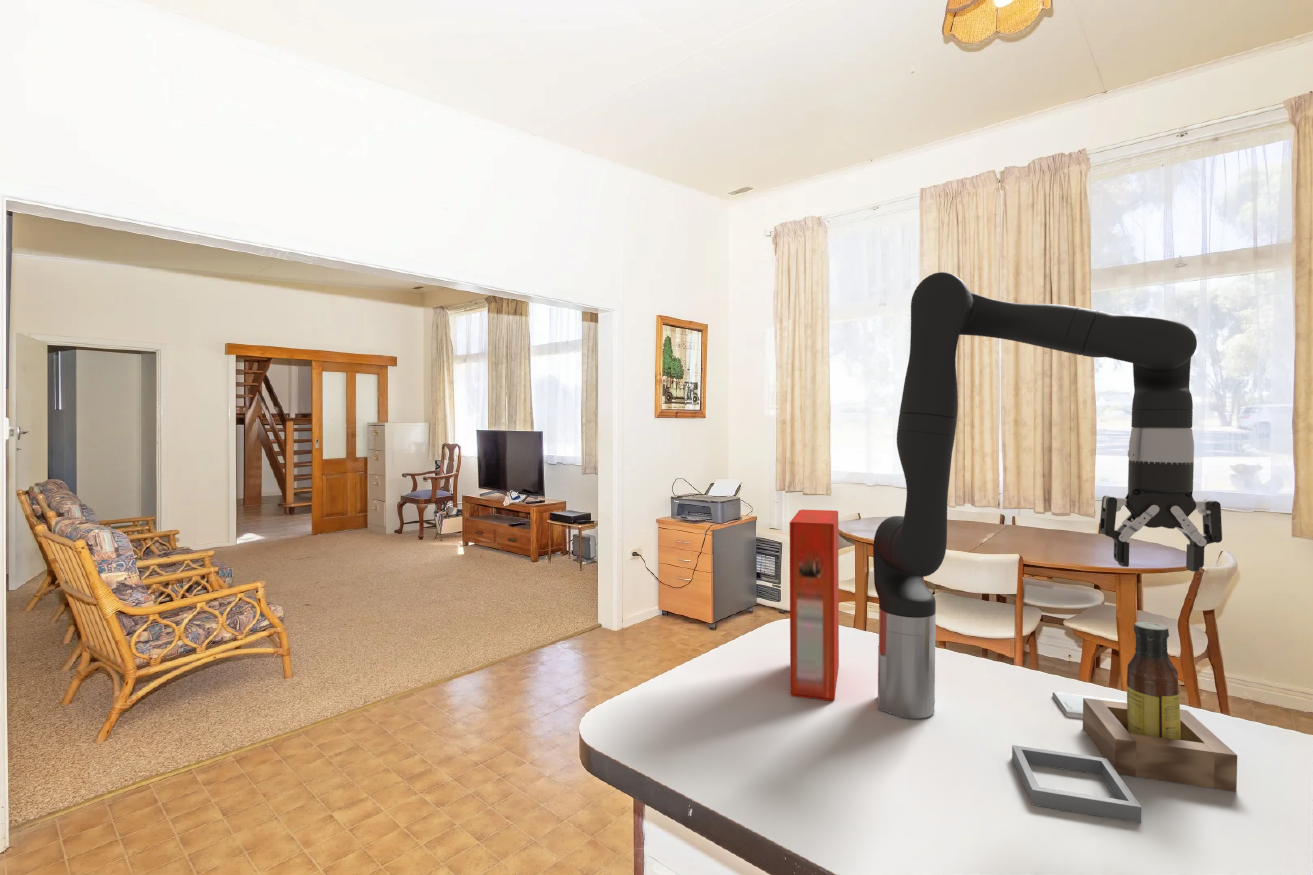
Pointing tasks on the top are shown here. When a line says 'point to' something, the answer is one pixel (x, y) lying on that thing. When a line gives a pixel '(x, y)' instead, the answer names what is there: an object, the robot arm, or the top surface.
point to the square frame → (1070, 801)
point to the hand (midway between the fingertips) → (1157, 568)
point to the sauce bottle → (1152, 685)
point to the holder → (1160, 749)
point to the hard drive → (1075, 703)
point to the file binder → (814, 604)
